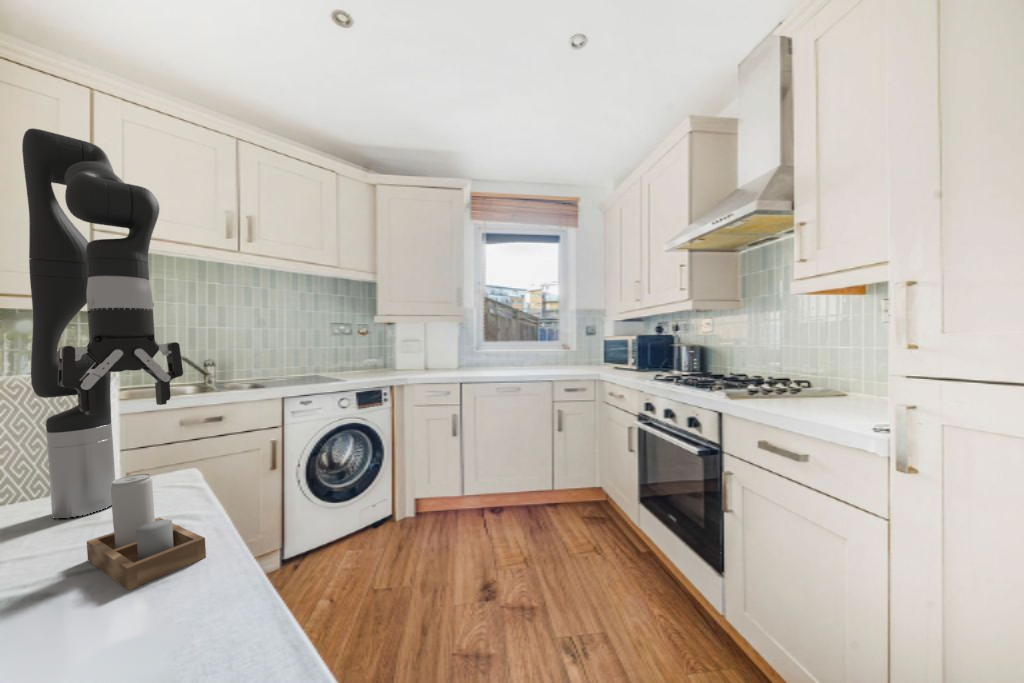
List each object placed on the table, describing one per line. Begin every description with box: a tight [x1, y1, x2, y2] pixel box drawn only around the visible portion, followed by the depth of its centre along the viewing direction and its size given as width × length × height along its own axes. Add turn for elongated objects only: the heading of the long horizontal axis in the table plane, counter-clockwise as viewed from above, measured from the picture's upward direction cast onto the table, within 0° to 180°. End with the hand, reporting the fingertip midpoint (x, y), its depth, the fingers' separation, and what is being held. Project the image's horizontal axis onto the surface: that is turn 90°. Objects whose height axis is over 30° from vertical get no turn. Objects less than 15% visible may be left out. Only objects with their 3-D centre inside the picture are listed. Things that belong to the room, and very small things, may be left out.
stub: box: [136, 518, 174, 561], centre depth 60 cm, size 4×4×6 cm
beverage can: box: [111, 473, 156, 549], centre depth 64 cm, size 5×5×12 cm
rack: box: [86, 517, 207, 591], centre depth 62 cm, size 17×9×3 cm, turn 59°
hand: (127, 409), depth 64 cm, fingers open, 8 cm apart
